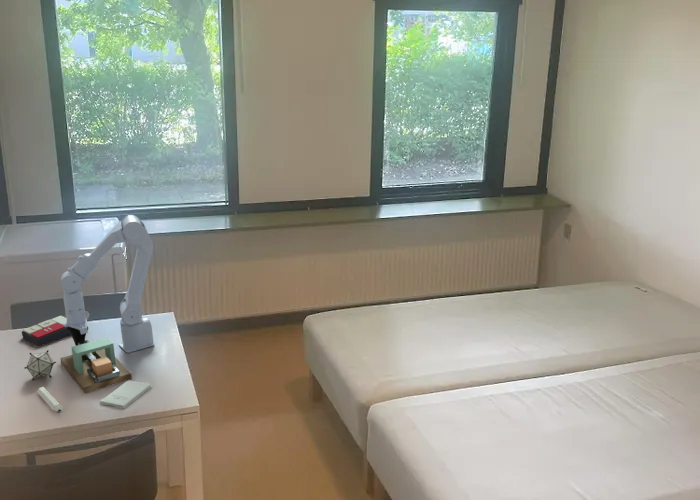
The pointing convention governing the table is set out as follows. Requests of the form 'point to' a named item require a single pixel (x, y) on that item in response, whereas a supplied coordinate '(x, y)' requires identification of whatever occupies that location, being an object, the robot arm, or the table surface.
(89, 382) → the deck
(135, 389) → the external hard drive
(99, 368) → the block
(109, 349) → the tunnel
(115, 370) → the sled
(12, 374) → the table surface
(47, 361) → the game die
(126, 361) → the table surface
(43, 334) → the sliding block puzzle
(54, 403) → the marker
